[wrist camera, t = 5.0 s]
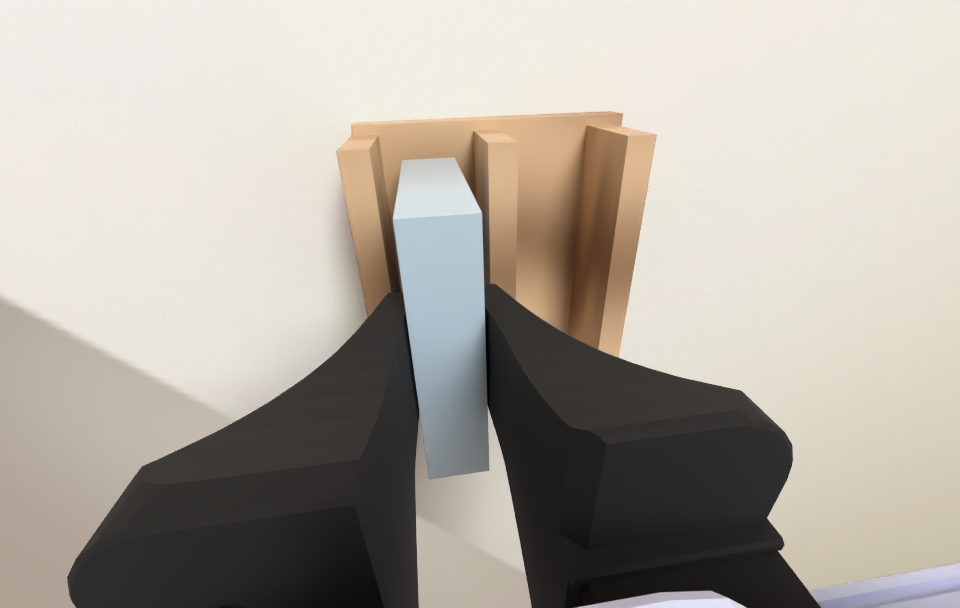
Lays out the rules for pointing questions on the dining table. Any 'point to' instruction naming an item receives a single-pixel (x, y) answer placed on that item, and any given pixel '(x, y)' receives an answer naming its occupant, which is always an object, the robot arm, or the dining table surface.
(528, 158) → the rack
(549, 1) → the dining table surface
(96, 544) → the robot arm
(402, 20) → the dining table surface
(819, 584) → the dining table surface
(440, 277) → the pale blue upright slab
